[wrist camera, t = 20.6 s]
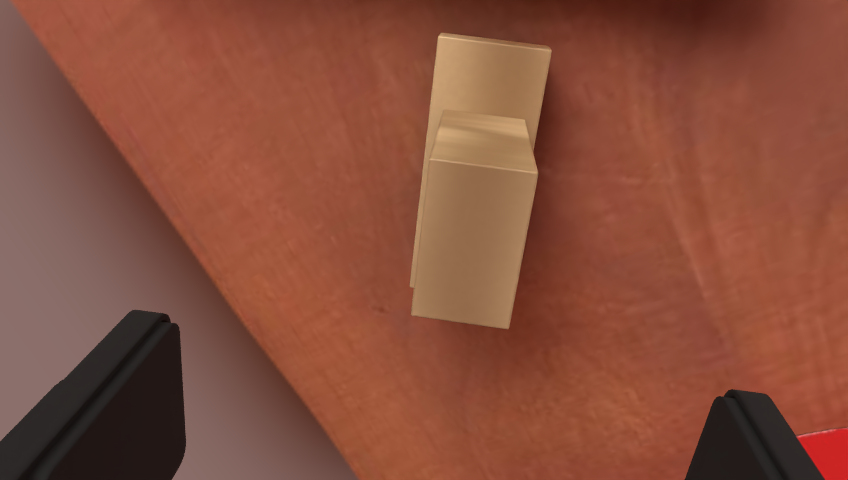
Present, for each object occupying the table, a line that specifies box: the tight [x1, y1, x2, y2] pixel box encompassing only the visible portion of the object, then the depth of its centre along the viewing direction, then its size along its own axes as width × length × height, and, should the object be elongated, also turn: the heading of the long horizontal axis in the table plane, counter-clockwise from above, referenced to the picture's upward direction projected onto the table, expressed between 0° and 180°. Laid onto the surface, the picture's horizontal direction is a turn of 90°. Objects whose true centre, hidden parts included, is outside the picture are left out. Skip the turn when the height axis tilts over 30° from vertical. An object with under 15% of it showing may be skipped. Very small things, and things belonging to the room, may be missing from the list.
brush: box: [410, 33, 552, 329], centre depth 22 cm, size 4×10×9 cm, turn 174°
